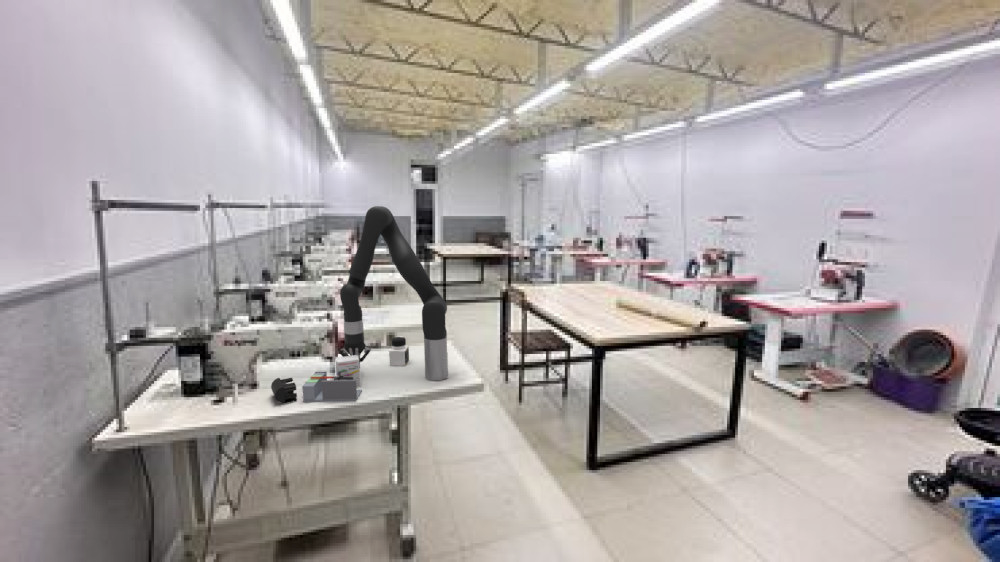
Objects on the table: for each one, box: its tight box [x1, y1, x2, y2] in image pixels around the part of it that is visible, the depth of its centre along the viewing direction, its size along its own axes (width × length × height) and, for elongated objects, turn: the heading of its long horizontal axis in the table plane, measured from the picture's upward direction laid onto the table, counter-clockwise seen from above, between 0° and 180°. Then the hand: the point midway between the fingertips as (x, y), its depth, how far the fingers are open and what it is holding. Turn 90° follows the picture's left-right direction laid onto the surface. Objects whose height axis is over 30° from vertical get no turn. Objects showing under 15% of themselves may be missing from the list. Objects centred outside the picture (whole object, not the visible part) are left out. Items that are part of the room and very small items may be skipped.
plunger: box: [310, 375, 354, 380], centre depth 162 cm, size 15×4×6 cm, turn 93°
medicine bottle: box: [388, 335, 410, 367], centre depth 193 cm, size 7×7×12 cm
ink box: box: [335, 355, 362, 388], centre depth 168 cm, size 8×5×12 cm, turn 114°
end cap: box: [270, 377, 298, 405], centre depth 158 cm, size 10×7×7 cm
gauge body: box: [301, 371, 363, 403], centre depth 162 cm, size 19×14×8 cm
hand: (356, 371), depth 178 cm, fingers closed
